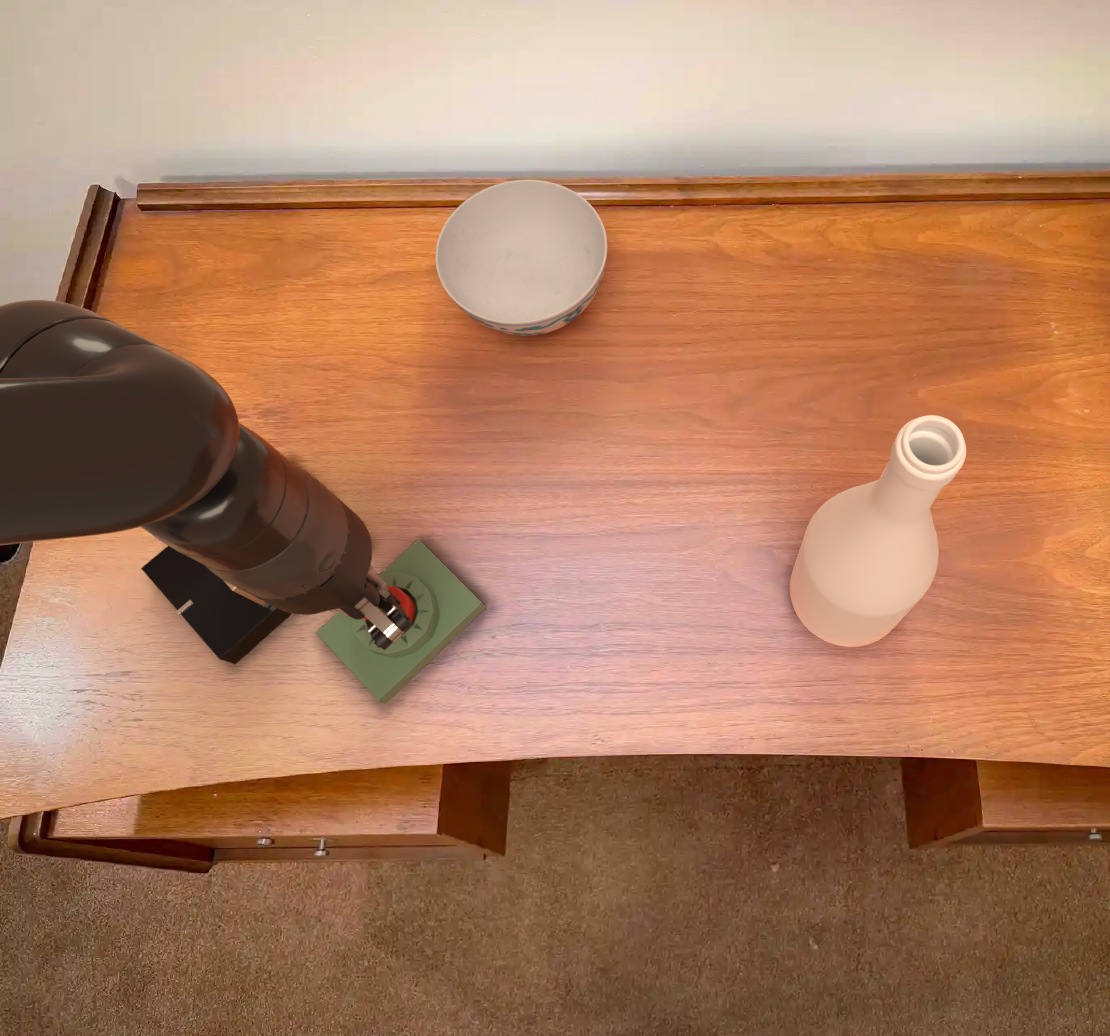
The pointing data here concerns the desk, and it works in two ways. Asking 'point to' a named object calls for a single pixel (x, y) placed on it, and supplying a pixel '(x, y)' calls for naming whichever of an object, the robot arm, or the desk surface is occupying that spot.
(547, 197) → the chinaware
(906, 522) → the beige ceramic bottle
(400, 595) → the button
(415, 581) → the green rectangular block
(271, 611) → the black flat square plate
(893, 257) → the desk surface
